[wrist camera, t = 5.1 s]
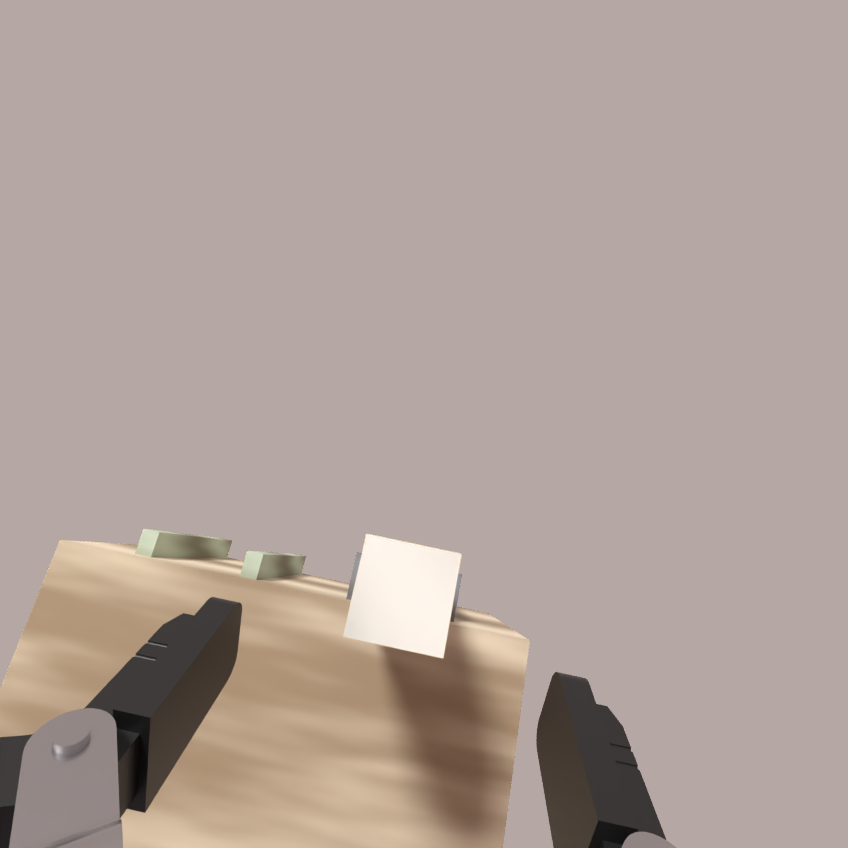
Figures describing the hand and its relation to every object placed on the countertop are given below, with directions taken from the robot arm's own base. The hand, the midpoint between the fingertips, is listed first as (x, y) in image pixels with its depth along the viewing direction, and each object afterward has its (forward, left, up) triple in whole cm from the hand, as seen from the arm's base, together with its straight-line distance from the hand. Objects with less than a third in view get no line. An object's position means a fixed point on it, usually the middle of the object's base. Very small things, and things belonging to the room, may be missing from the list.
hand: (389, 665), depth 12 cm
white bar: (-10, -8, 0) cm, 13 cm away
